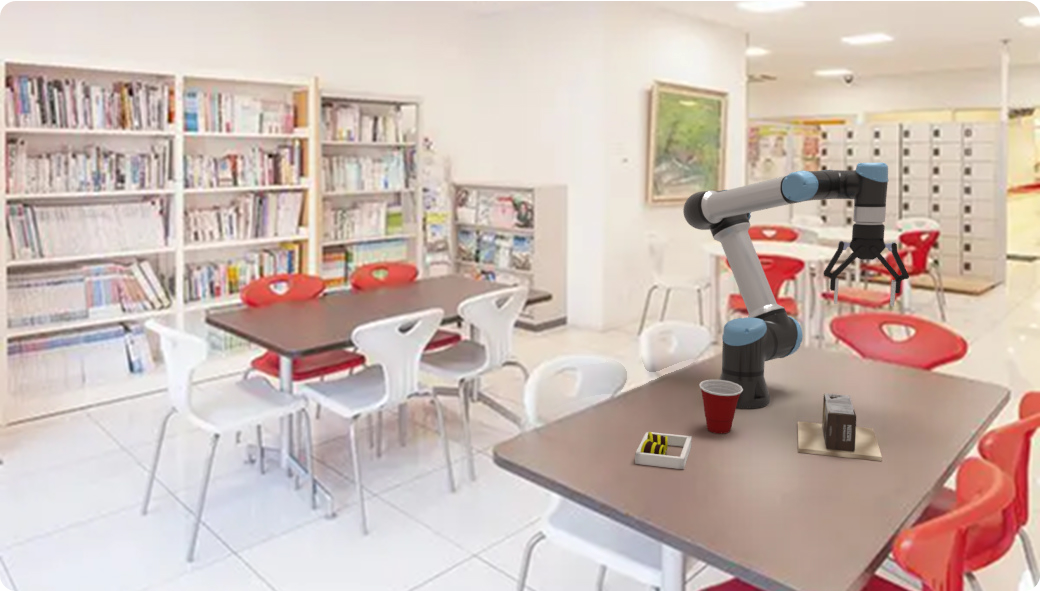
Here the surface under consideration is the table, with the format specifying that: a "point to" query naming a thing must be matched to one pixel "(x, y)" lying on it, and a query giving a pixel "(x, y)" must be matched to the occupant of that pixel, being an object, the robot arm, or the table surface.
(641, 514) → the table surface
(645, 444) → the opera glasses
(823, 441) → the birch board
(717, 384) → the plastic cup
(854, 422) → the coffee box
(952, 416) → the table surface
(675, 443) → the white tray rim
